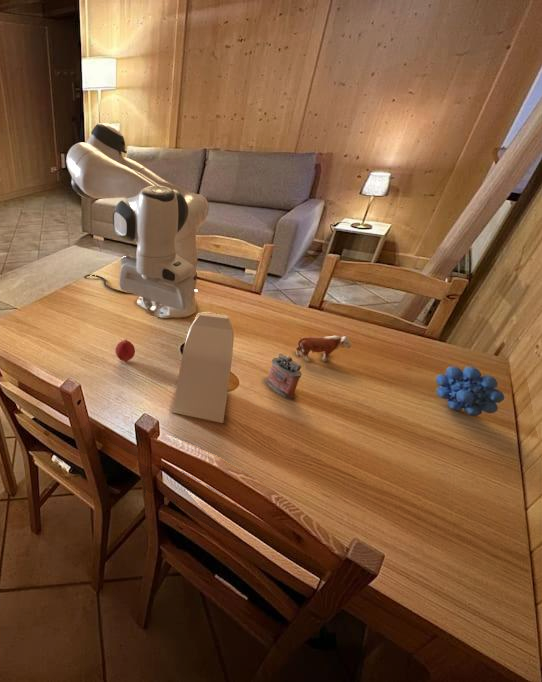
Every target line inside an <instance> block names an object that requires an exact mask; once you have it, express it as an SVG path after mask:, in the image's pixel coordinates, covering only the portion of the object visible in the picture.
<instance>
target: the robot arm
mask: <svg viewBox="0 0 542 682" xmlns="http://www.w3.org/2000/svg"><path fill="white" fill-rule="evenodd" d="M127 152H128V150H127V149H126V141H125V137H124V135H123V134H122V133H121V131H120V129H119V128H117V126H115V125H113V124H111V123H106V122H105V123H104V122H99V123H96V125H95V126H94V127H93V128H92V130H91V131H90V136H88V139H87V140H86V142H82V141H81V142H77V143H75V144H73V145H72V146H71V147H70V148H69V150H68V151H67V154H66V160H65V161H66V167H67V170H68V173H69V174H70V177H71V183H70V184H71V186H72V189H73V190H74V192H76V193H77V195H79V196H81V197H83V198H85V199H90V200H93V199H97V200H105V199H119V198H122V200H120V201H119V202H118V203H117V204H116V205H115V207H114V210H113V213H112V225H113V231H114V233H115V234H116V235H117V236H118V237H120V238H121V239H122V240H124V241H127V242H135V243H136V245H137V246H136V256H132V255H130V254H126V255H124V256H122V257H121V259H120V270H119V276H118V287H119V288H120V289H116V288H113V287H111V286H110V285H108V284H107V280H106V279H105V278H104V277H102V276H101V275H97V274H93V273H91V274H86V275H84V276H83V278H84V279H86V278H87V277H95V278H98V279H101V280H102V281H103V284H104V286H105V287H106V288H107V289H109V290H111V291H114V292H118V293H121V294H125V295H134V296H137V297H138V298H137V300H136V305H138V306H139V307H141V308H143V309H145V310H146V314H148V315H151V316H153V317H155V318H156V317H159V318H160V319H169V318H186V317H190V316H192V315H194V314H195V313H197V304H196V293H197V292H198V289H196V287H197V280H198V272H197V270H198V269H197V268H198V266H197V265H198V260H199V259H198V258H199V250H198V248H197V232H198V229H199V227H200V226H202V225H203V223H204V222H205V221H206V219H207V217H208V215H209V211H210V204H209V202H208V199H207V198H206V197H205V196H204V195H202V194H200V193H194V192H192V191H190V190H188V189H186V188H183V187H180V186H178V185H177V184H173V183H171V182H169V181H167V180H165V179H163V178H162V177H161V176H159V175H158V174H156V173H155V172H153V171H151V170H150V169H149V168H147V167H146V166H144V165H142V164H141V163H139V162H137V161H135V160H133V159H131V158H128V157H126V156H123V154H122V153H124V154H128V153H127ZM92 274H93V275H92ZM90 275H92V276H90ZM95 275H96V276H95Z"/></svg>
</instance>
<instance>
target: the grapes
mask: <svg viewBox="0 0 542 682" xmlns="http://www.w3.org/2000/svg"><path fill="white" fill-rule="evenodd" d="M434 380H435V382H436V384H437V386H439V387H437V388H436V390H435V392H436V395H437V396H438V397H439V399H442V400H446V404H447V406H448V407H449V408H450V409H451V410H454V411H457V412H458V411H461V410H464V412H465V413H466V414H467V415H469V416H472V417H478V416H480V415H482V412H484V413H486V414H494V413H497V412H498V410H499V406H498V404H500V403H502V402H503V401H504V400H505V395H504V392H503V391H501V390H500V389H497V387H498V385H499V382H498V381H497V379H496V378H495V377H493V376H492V375H482V373H481V371H480V370H479V369H478V368H477V367H474V366H466V367H465V368H463V369H461V368H460V367H457V366H455V365H454V366H449V367H447V368H446V369H445V372H444V373H442V374H441V373H440V374H438V375H437V376H435V379H434Z"/></svg>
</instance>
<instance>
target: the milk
mask: <svg viewBox="0 0 542 682" xmlns="http://www.w3.org/2000/svg"><path fill="white" fill-rule="evenodd" d="M234 339H235V332H234V330H233V327H232V323H231V321H230V318H229V315H227V314H219V313H210V312H202V311H201V312H199V313H198V315H197V316H196V317H195V319H194V320H193V322H192V323H191V324H190V325H189V328H188V332H187V335H186V339H185V341H184V342H185V343H184V347H183V349H182V350H183V351H182V354H181V359H180V365H179V371H178V379H177V385H176V391H175V396H174V403H173V408H172V413H175V414H178V415H183V416H188V417H193V418H197V419H202V420H205V421H211V422H216V423H221V424H223V423H224V419H225V413H226V412H225V411H226V405H227V398H228V390H229V384H230V376H231V372H232V371H231V370H232V364H233V352H234V351H233V350H234V341H235V340H234Z"/></svg>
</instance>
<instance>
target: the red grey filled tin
mask: <svg viewBox="0 0 542 682" xmlns="http://www.w3.org/2000/svg"><path fill="white" fill-rule="evenodd" d="M301 368H302V365H301V364H300V363H298V362H297V361H295V360H293V358H292V357H291V356H286V355H285V354H283V353H279V354H278V356H277V357H274V358H272V359H271V365H270V369H269V371H268V376H267V377H266V380H265V383H266V384H267V386H268V387H270V388H271V389H272V390H273V391H274V392H275V393H277V394H279V395H281V396H282V397H283V398H286V399H293V398H294V397H295V395H296V394H295V393H296V389H297V386H298V384H299V381H300V378H301V377H302V375H303V373H302V372H301Z"/></svg>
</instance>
